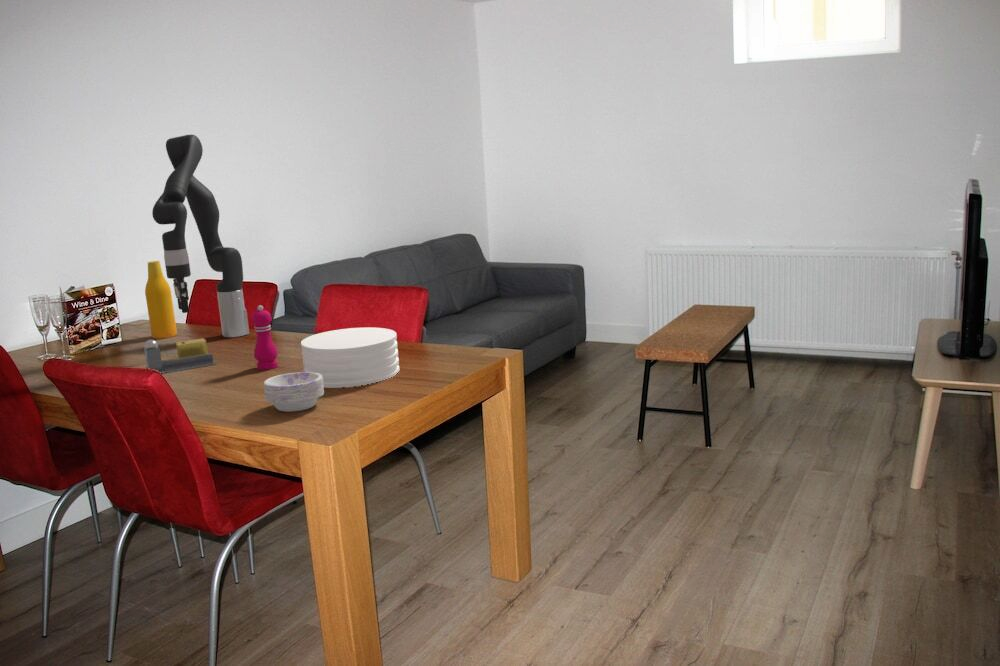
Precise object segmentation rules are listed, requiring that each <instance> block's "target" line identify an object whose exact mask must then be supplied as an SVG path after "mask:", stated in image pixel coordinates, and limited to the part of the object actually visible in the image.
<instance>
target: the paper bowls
mask: <svg viewBox="0 0 1000 666" xmlns="http://www.w3.org/2000/svg"><path fill="white" fill-rule="evenodd" d="M323 386H324V385H323V377H322V375H321V374H318V373H314V372H304V371H300V372H299V371H298V372H289V373H282V374H278V375H275V376H271V377H269V378H267V379H265V380H264V381H263V391H264V398H265V401H266V402H267V403H271V404H272V405H273V406H274V408H275V409H276V410H278V411H280V412H286V413H293V412H295V413H296V412H301V411H305V410H309V409H310V408H313V407H314V406H316V404H317V402H318V400H319V398H322V397H323V396H324V394H325V389H324V388H325V387H323Z"/></svg>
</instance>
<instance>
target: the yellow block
mask: <svg viewBox="0 0 1000 666" xmlns="http://www.w3.org/2000/svg"><path fill="white" fill-rule="evenodd" d="M175 345H176V350H177V358H182V357H188V356H195V355H201V354H207V353H209V351H208V343H207V340H206V339H205V338H202V337H201V338H196V339H189V340H183V341H176V342H175Z"/></svg>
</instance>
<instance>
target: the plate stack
mask: <svg viewBox="0 0 1000 666" xmlns="http://www.w3.org/2000/svg"><path fill="white" fill-rule="evenodd" d="M397 338H398V335H397V332H396V331H395V330H393V329H389V328H384V327H349V328H340V329H334V330H329V331H323V332H319V333H316V334H312V335H310V336H307V337H305V338H303V339H302V340H301V342H300V347H301V349H302V350H301V357H302V365H303V372H314V373H318V374H321V375H322V377H323V385H324V386H323V387H324V388H326V389H331V388H332V389H340V388H341V389H342V387H345V388H354V386H356V387H362V386H361V385H363V386H368V385H367V384H369V385H372V384H371V383H374V384H376V383H375V382H378V383H380V382H379V381H381V382H383V381H382V380H385V379H387V380H389V379H388V378H390V379H392V378H394V377H396V376H397V375H398V374H399V373H400V372H401V371H400V365H399V364H400V359H399V349H398V341H397ZM399 371H400V372H399ZM398 372H399V373H398ZM397 373H398V374H397ZM396 374H397V375H396ZM395 375H396V376H395ZM393 376H394V377H393ZM391 377H392V378H391ZM385 381H386V380H385Z"/></svg>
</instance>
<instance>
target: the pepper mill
mask: <svg viewBox="0 0 1000 666" xmlns="http://www.w3.org/2000/svg"><path fill="white" fill-rule="evenodd" d="M272 318H273V317H272V315H271V313H270V312H269V311H267V310H265V309H264V306H263V305H260V304H259V305H258V306H257V310H256V311H254V312H253V313H252V315H251V323H253V325H254V327H253V328H254V331H255V332H256V344H255V346H254V351H253V357H254V359H255V360H256V361H257V363H256V368H257V370H260V371H265V370H274V369H276V368H277V367H278V366H279V365H278V360H277V358H278V355H279V353H278V349H277V346H276V345H275V343H274V341H273V339H272V336H271V330H272V325H271V322H272Z"/></svg>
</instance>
